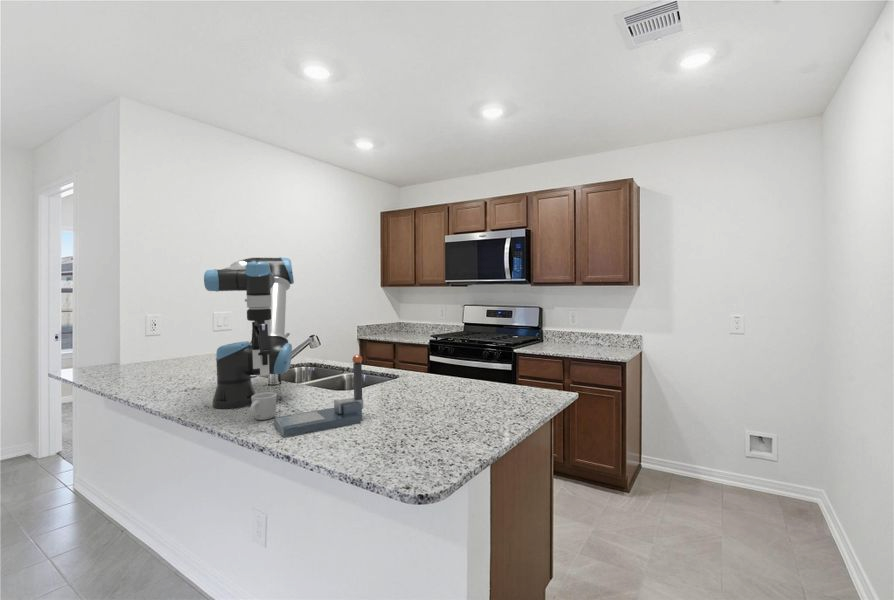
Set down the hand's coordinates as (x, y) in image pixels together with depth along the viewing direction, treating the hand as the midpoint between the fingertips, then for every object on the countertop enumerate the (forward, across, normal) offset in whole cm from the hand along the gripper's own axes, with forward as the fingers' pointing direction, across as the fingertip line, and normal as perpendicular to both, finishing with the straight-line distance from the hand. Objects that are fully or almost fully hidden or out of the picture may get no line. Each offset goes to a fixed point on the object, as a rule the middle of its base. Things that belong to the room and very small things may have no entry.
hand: (260, 371), depth 148 cm
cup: (+16, 0, 0) cm, 17 cm away
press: (+16, +16, +15) cm, 27 cm away
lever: (+13, +16, +25) cm, 32 cm away
